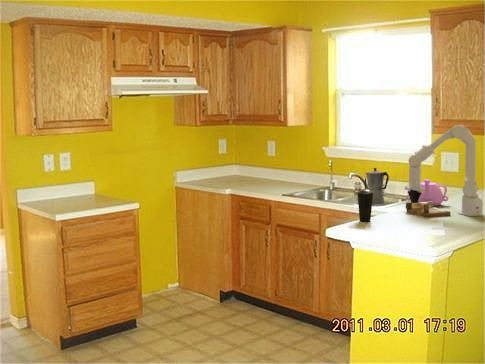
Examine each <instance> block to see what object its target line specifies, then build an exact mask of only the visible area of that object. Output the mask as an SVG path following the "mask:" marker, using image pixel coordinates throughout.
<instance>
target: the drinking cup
mask: <svg viewBox="0 0 485 364" xmlns="http://www.w3.org/2000/svg"><path fill="white" fill-rule="evenodd" d="M356 194H357V201H358V202H357V203H358V216H359V217H358V219H359V222H361V223H369V222H371V219H372V209H373V205H372V201H373V194H374V192H372V191H371V190H369V188H368V189H367V177H365V178H364V189H360V190H358V191H357V192H356Z"/></svg>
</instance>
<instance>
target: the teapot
mask: <svg viewBox="0 0 485 364" xmlns="http://www.w3.org/2000/svg"><path fill="white" fill-rule="evenodd" d="M440 187H442V188H444V192H442V189H441V188H440ZM421 188H423V189H425V193H422V194H421V195H420V197H419V199H418V203H421V202H427V201H433V207H436V206H441V204H442V203H443V202H448V201H449V197H448V196H447V190H448V188H447V186H446V185H444V184H442V183H441V184H438V183H436V182H431V179H423V182H421ZM409 191H410V190H407V193H408V192H409ZM445 198H446V199H445ZM405 199H406V200H407V201H411V199H410V196H409V194H406V196H405Z"/></svg>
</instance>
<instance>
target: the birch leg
mask: <svg viewBox="0 0 485 364" xmlns="http://www.w3.org/2000/svg"><path fill="white" fill-rule="evenodd" d="M424 204H429V207H434V206H433V201H427V202H421V203H411V201H410V202H405V209H406V210H407V209H415V208H424Z"/></svg>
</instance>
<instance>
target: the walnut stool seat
mask: <svg viewBox="0 0 485 364" xmlns="http://www.w3.org/2000/svg"><path fill="white" fill-rule="evenodd" d="M406 213H407V214H412V215H414V216H419V217H421V216H422V218H438V217H451V211H450V210H446V209H442V208H438V207H435V206H433V207H429V204H424V208H415V209H406Z"/></svg>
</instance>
